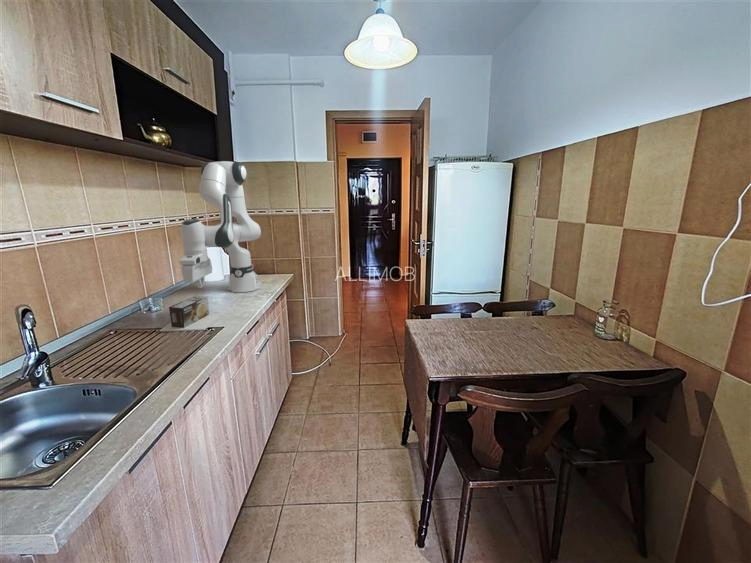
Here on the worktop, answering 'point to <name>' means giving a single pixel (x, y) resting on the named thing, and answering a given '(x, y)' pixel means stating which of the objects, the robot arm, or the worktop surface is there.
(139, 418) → the worktop surface
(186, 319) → the coffee box
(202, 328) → the mat
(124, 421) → the worktop surface
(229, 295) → the worktop surface
